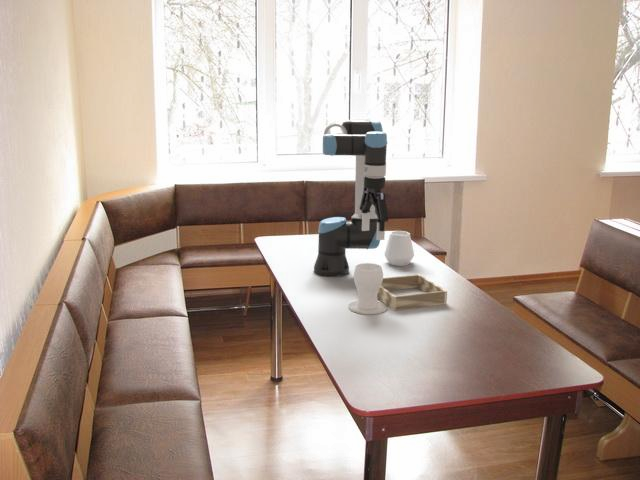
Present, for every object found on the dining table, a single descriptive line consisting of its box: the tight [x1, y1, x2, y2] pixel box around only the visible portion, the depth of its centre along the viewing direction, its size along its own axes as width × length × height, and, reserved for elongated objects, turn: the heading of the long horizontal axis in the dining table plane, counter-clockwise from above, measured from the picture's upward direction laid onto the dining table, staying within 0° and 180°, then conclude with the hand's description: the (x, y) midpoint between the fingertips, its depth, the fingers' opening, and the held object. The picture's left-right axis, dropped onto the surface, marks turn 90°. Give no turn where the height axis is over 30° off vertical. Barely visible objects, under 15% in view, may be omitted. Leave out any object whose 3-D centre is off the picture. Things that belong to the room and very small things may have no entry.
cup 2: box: [383, 230, 415, 267], centre depth 300 cm, size 13×13×14 cm
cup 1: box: [353, 262, 384, 310], centre depth 242 cm, size 11×11×15 cm
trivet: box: [348, 300, 388, 316], centre depth 244 cm, size 14×14×1 cm
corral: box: [377, 274, 448, 311], centre depth 255 cm, size 22×22×5 cm
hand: (372, 235), depth 239 cm, fingers open, 13 cm apart
